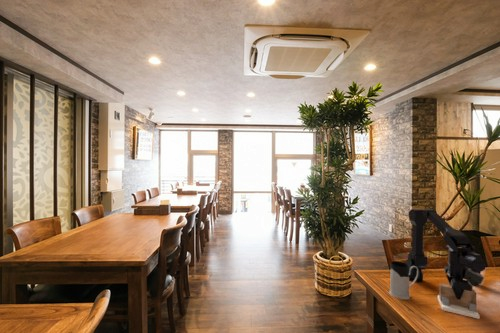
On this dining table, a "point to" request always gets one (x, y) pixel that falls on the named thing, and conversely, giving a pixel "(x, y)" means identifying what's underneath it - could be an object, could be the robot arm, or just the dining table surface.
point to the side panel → (459, 308)
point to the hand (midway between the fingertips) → (456, 296)
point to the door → (449, 293)
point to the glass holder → (400, 280)
